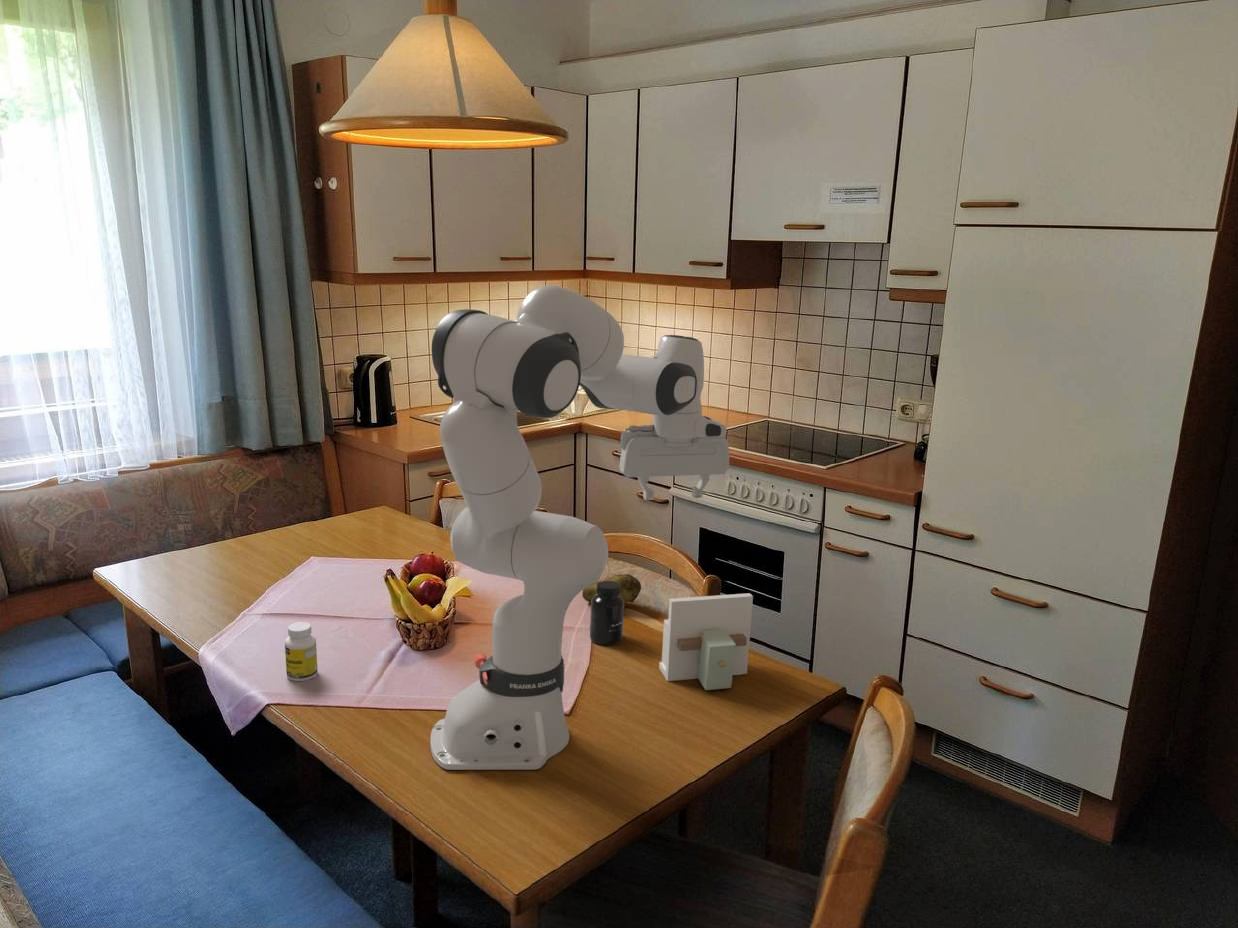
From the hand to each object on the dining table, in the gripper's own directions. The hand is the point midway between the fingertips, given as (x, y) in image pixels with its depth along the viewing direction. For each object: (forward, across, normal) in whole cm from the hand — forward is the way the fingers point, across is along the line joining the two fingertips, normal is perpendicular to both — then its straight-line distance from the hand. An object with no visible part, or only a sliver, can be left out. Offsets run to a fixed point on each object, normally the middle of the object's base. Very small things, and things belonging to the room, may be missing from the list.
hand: (672, 498), depth 165 cm
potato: (+34, -3, +30) cm, 46 cm away
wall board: (+34, +7, -5) cm, 35 cm away
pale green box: (+33, +7, -10) cm, 35 cm away
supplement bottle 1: (+34, -67, +9) cm, 76 cm away
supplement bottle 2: (+34, -8, +14) cm, 38 cm away
